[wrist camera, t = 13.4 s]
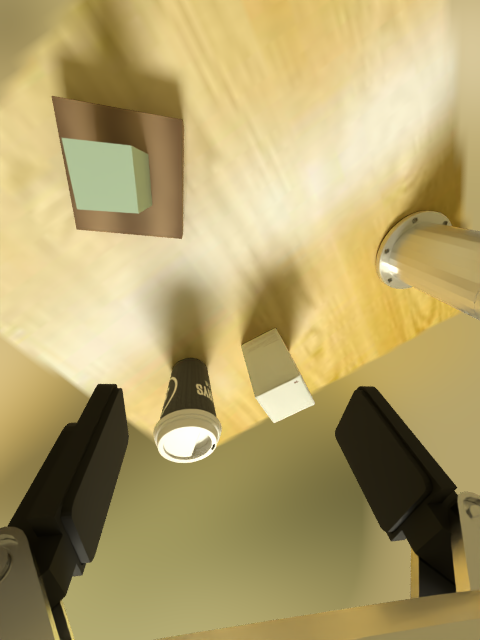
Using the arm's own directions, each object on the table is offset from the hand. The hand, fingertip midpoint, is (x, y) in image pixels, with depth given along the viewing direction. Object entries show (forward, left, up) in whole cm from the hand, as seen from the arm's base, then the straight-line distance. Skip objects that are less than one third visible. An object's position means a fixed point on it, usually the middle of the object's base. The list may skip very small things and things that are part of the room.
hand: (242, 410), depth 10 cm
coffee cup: (+2, +24, -30) cm, 38 cm away
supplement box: (-12, +19, -30) cm, 37 cm away
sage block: (+9, -7, -26) cm, 29 cm away
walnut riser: (+10, -7, -30) cm, 33 cm away
